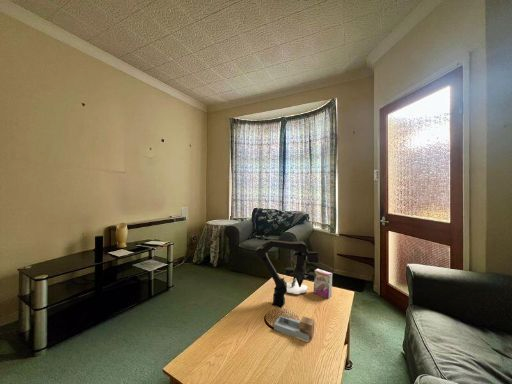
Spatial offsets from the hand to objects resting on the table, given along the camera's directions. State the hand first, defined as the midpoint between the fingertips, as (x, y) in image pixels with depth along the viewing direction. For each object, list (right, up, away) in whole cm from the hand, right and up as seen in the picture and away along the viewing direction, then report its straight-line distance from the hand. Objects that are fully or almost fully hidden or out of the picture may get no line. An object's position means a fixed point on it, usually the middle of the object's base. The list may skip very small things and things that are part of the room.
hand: (299, 286), depth 134 cm
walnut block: (-2, -12, -26) cm, 29 cm away
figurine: (+1, -12, +22) cm, 25 cm away
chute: (-8, -13, -23) cm, 27 cm away
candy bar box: (+18, -12, +14) cm, 26 cm away
